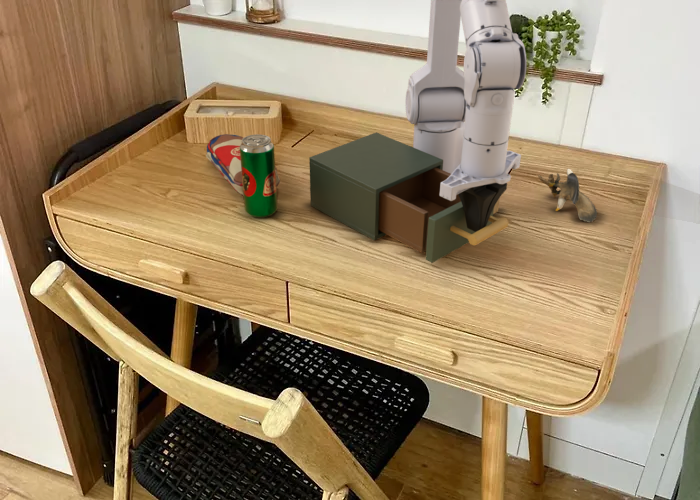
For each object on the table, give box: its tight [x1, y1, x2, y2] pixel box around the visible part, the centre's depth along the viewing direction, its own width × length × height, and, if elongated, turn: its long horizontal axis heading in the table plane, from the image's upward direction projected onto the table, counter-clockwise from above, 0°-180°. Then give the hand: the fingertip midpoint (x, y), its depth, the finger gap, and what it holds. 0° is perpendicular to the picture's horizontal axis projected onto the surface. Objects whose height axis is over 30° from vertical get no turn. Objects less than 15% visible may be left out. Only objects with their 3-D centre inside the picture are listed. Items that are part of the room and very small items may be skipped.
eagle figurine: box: [537, 168, 598, 223], centre depth 111 cm, size 8×7×9 cm
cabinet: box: [308, 132, 443, 241], centre depth 110 cm, size 14×14×8 cm
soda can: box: [240, 133, 278, 219], centre depth 108 cm, size 5×5×12 cm
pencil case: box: [205, 133, 281, 197], centre depth 120 cm, size 11×20×5 cm, turn 14°
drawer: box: [378, 167, 509, 264], centre depth 102 cm, size 18×13×7 cm
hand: (475, 228), depth 98 cm, fingers closed
